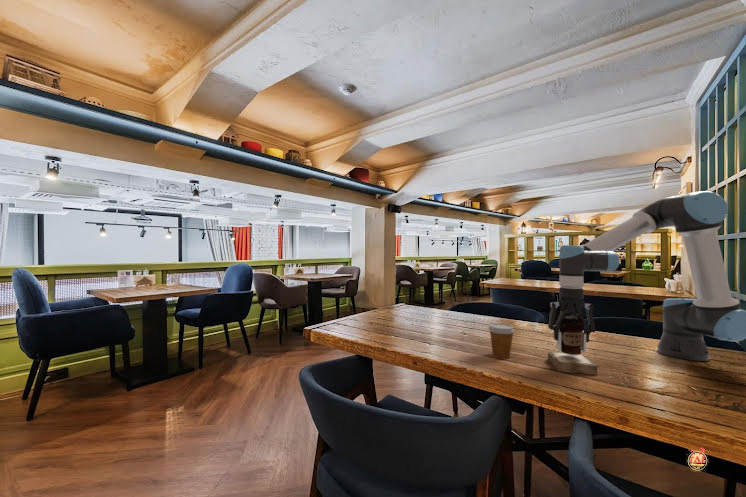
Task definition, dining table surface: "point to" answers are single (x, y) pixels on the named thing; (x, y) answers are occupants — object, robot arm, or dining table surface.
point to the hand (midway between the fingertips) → (571, 349)
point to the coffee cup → (571, 335)
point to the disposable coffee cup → (501, 340)
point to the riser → (572, 363)
